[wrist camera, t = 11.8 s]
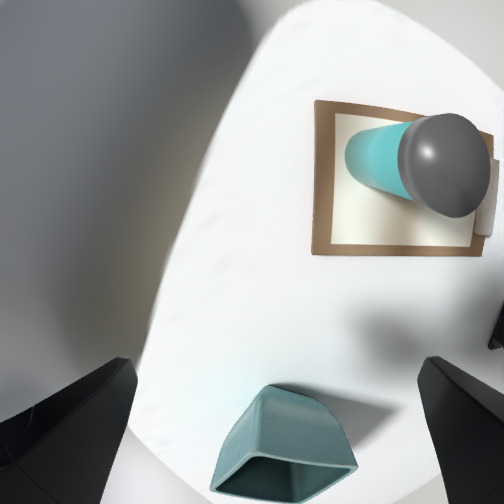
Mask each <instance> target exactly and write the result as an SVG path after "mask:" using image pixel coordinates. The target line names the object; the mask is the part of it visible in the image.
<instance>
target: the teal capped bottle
mask: <svg viewBox="0 0 504 504" xmlns="http://www.w3.org/2000/svg"><path fill="white" fill-rule="evenodd" d="M345 164H346V167H347V169H348V171H349V173H350V174H351V175H352V177H353V178H354V179H355V180H357V181H358V182H360V183H362V184H365V185H368V186H371V187H374V188H377V189H380V190H383V191H386V192H389V193H392V194H395V195H398V196H401V197H404V198H407V199H410V200H412V201H415V202H416V203H418V204H419V205H420V206H422V207H424V208H427V209H429V210H432V211H434V212H437V213H439V214H442V215H444V216H447V217H450V218H461V217H465V216H467V215H469V214H471V213H472V212H473V211H474V210H476V209H477V208H478V206H479V205H480V204H481V202H482V201H483V199H484V197H485V195H486V192H487V190H488V186H489V182H490V173H491V166H490V157H489V152H488V149H487V146H486V143H485V141H484V139H483V137H482V135H481V133H480V132H479V130H478V129H477V128H476V127H475V126H474V125H473V124H472V123H471V122H470V121H469V120H468V119H466V118H464V117H463V116H460V115H458V114H453V113H447V114H440V115H433V116H427V117H422V118H419V119H417V120H415V121H411V122H405V123H399V124H393V125H388V126H383V127H377V128H372V129H367V130H363V131H360V132H358V133H356V134H354V135H353V136H352V137H351V138H350V140H349V141H348V143H347V145H346V148H345Z"/></svg>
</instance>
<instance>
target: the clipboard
mask: <svg viewBox="0 0 504 504" xmlns="http://www.w3.org/2000/svg"><path fill="white" fill-rule="evenodd" d="M314 108H315V166H314V204H313V227H312V246H311V253H312V255H378V256H481V255H482V251H483V246H484V240H485V235H489V236H492V230H493V224H494V217H495V210H496V201H497V191H498V179H499V160H495V159H493V135H491V134H488V133H485V132H482V131H479V132H480V133H481V135H482V137H483V139H484V141H485V143H486V146H487V149H488V152H489V157H490V166H491V173H490V182H489V186H488V190H487V192H486V195H485V197H484V199H483V201H482V202H481V204H480V205H479V206H478V208H477V209H476V210H474V211H473V212H472V213H471V214H469V215H467V216H465V217H461V218H450V217H447V216H444V215H442V214H439V213H437V212H434V211H432V210H429V209H427V208H424V207H422V206H420V205H419V204H418V203H416V202H415V201H412V200H410V199H407V198H404V197H401V196H398V195H395V194H392V193H389V192H386V191H383V190H380V189H377V188H374V187H371V186H368V185H365V184H362V183H360V182H358V181H357V180H355V179H354V178H353V177H352V175H351V174H350V173H349V171H348V169H347V167H346V164H345V148H346V145H347V143H348V141H349V140H350V138H351V137H352V136H353V135H354V134H356V133H358V132H360V131H363V130H367V129H372V128H377V127H383V126H388V125H393V124H399V123H405V122H411V121H415V120H417V119H419V118H422V117H427V116H424V115H419V114H415V113H410V112H405V111H399V110H394V109H388V108H382V107H376V106H369V105H361V104H353V103H345V102H335V101H323V100H315V102H314Z"/></svg>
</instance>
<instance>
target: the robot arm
mask: <svg viewBox="0 0 504 504" xmlns="http://www.w3.org/2000/svg"><path fill="white" fill-rule="evenodd" d="M500 347H503V348H504V305H503V308H502V311H501V314H500V317H499V320H498V322H497V325H496V327H495V330H494V332H493V335H492V337H491V340H490V342H489V344H488V348H489V349H490V350H493V349H497V348H500ZM417 383H418V387H419V392H420V396H421V400H422V404H423V409H424V413H425V418H426V422H427V425H428V428H429V431H430V435H431V438H432V441H433V444H434V448H435V451H436V455H437V458H438V462H439V465H440V469H441V473H442V477H443V481H444V485H445V489H446V493H447V498H448V502H449V504H504V394H502V393H500V392H499V391H497V390H495V389H493V388H492V387H490V386H488V385H487V384H485V383H483V382H482V381H480V380H478V379H476V378H475V377H473V376H471V375H470V374H468V373H466V372H464V371H463V370H461V369H459V368H458V367H456V366H454V365H453V364H451V363H449V362H447V361H446V360H444V359H442V358H441V357H439V356H432V357H427V358H426V359H425V361H424V363H423V365H422V368H421V370H420V373H419V375H418V379H417ZM137 384H138V378H137V374H136V371H135V368H134V365H133V362H132V360H131V359H130V358H127V357H121V356H118V357H116V358H114V359H113V360H111V361H109V362H108V363H106V364H104V365H103V366H101V367H99V368H97V369H96V370H94V371H93V372H91V373H89V374H87V375H86V376H84V377H82V378H81V379H79V380H77V381H75V382H74V383H72V384H71V385H69V386H67V387H65V388H63V389H62V390H60V391H58V392H57V393H55V394H53V395H51V396H50V397H48V398H46V399H44V400H43V401H41V402H39V403H37V404H36V405H34V407H33V406H32V407H30V408H28V409H27V410H25V411H23V412H21V413H19V414H17V415H16V416H14V417H12V418H10V419H7V420H5V421H3V422H1V423H0V504H100V501H101V498H102V495H103V492H104V489H105V486H106V483H107V480H108V476H109V474H110V471H111V468H112V465H113V462H114V459H115V456H116V454H117V451H118V448H119V445H120V442H121V440H122V437H123V434H124V432H125V428H126V426H127V423H128V419H129V415H130V411H131V407H132V403H133V399H134V396H135V392H136V388H137Z"/></svg>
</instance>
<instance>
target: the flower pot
mask: <svg viewBox="0 0 504 504" xmlns="http://www.w3.org/2000/svg"><path fill="white" fill-rule="evenodd" d="M357 468H358V464H357V462H356V459H355V457H354V454H353V452H352V449H351V447H350V445H349V442H348V440H347V438H346V435H345V433H344V431H343V429H342V427H341V425H340V423H339V421H338V420H337V419H336V417H335V416H334V415H333V414H332V413H331V412H330V411H329V410H328V409H327V408H326V407H324V406H323V405H322V404H320V403H319V402H318V401H316V400H315V399H313V398H311V397H308V396H304V395H300V394H296V393H293V392H289V391H286V390H282V389H279V388H276V387H273V386H265V387H264V388H263V389H262V390H261V391H260V392H259V393H258V395H257V396H256V398H255V399H254V400H253V402H252V403H251V404H250V406H249V407H248V408H247V410H246V411H245V412H244V413H243V415H242V416H241V417H240V418H239V420H238V421H237V422H236V423H235V425H234V426H233V428H232V429H231V431H230V432H229V434H228V436H227V437H226V439H225V441H224V443H223V446H222V448H221V451H220V454H219V457H218V461H217V464H216V468H215V471H214V474H213V478H212V481H211V485H210V488H209V489H210V491H212V492H216V493H220V494H224V495H229V496H234V497H240V498H246V499H251V500H258V501H265V502H274V503H283V504H302V503H304V502H306V501H308V500H310V499H312V498H313V497H315V496H317V495H318V494H320V493H322V492H323V491H325V490H327V489H328V488H330V487H331V486H333V485H334V484H336V483H338V482H339V481H341V480H342V479H344V478H345V477H347V476H349V475H350V474H352V473H353V472H354V471H356V469H357Z"/></svg>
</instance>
